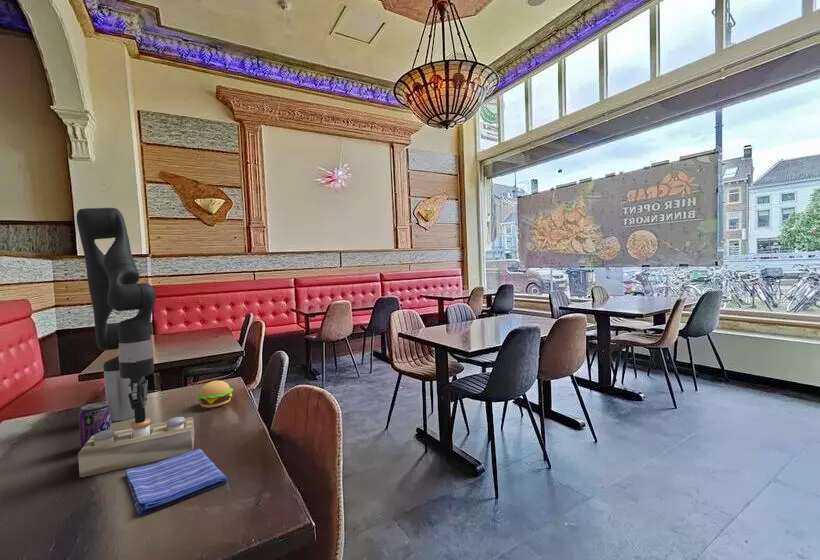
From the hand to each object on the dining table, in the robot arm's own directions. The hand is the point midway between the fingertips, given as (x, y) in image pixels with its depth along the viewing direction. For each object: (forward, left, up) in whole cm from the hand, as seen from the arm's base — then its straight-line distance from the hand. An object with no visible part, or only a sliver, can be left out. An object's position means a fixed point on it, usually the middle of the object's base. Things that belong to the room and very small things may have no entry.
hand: (140, 421), depth 105 cm
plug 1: (0, -8, -9) cm, 12 cm away
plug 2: (0, +8, -9) cm, 12 cm away
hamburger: (-36, +18, -10) cm, 41 cm away
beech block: (0, 0, -9) cm, 9 cm away
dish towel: (+20, +9, -10) cm, 24 cm away
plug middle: (0, 0, -8) cm, 8 cm away
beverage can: (-15, -13, -10) cm, 22 cm away
